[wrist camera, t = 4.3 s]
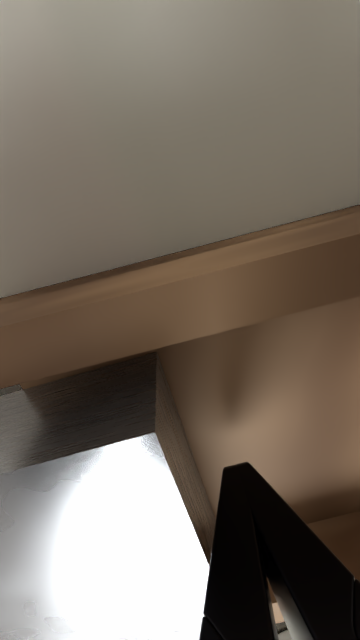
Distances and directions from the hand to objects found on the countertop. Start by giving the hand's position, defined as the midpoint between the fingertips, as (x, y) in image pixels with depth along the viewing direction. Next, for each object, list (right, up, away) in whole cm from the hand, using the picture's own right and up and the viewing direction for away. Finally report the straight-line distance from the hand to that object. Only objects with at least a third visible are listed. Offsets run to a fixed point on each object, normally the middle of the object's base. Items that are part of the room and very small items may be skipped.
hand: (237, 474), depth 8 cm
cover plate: (-5, -1, +1) cm, 5 cm away
